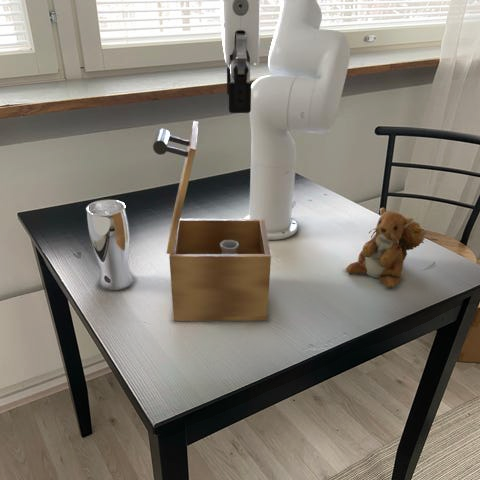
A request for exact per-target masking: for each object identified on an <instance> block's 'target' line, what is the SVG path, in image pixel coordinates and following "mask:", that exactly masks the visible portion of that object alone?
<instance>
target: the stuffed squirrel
mask: <svg viewBox="0 0 480 480" xmlns="http://www.w3.org/2000/svg"><path fill="white" fill-rule="evenodd" d="M379 212H380V217H379V218H378V220H377V224H376V227H375V228H372V229H371V230H369V232H368V234H370V233H371V232H372V231H373V232H372V234H371V236H370V238H371V239H370V240H368V241H367V242H365V243H364V244H363V246H362V250H361V251H360V253H359V255H358V257H357V261H355V262H352V263H350V264H349V265H347V266H346V268H345V271H346V273H348V274H351V275H352V274H353V275H359V274H367V275H368V276H370V277H372V278H374V279H379V280H380V282H382V283H383V284H384V286H385V287H387V288H388V289H393V288H395V287H396V286H397V285H398V284H399V283H400V282H401V279H402V275H403V266H404V261H405V260H406V257H407V255H408V252H407V251H411V250H414V248H415V249H416V248H417V247H420V245H421V244H424V243H425V242H424V240H425V239H426V238H425V228H423V227H421V224H420V223H419V222H416V221H414V218H413V217H409V218H408V217H405V216H403V214H401V213H398V212H396V211H393V210H386V208H385V207H381V208H379Z"/></svg>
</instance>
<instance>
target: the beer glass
mask: <svg viewBox="0 0 480 480" xmlns="http://www.w3.org/2000/svg"><path fill="white" fill-rule="evenodd" d="M126 209H127V208H126V205H125V203H124V202H123V201H120V200H117V199H100V200H96V201H93V202H91V203H89V204H88V205H87V206H86V207H85V212H86V223H87V232H88V236H89V240H90V244H91V247H92V249H93V252H94V255H95V257H96V261H97V263H98V268H99V286H100V287H101V288H103V289H105V290H107V291H121V290H125V289H128V288H129V287H130V286H131V285H133V282H134V278H133V274H132V272H131V269H130V263H129V259H130V258H129V257H130V245H131V244H130V239H131V238H130V237H131V233H130V225H129V218H128V214H127V213H128V212H127V210H126Z"/></svg>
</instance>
